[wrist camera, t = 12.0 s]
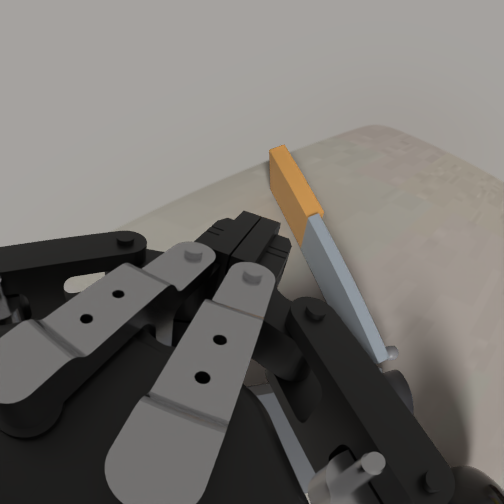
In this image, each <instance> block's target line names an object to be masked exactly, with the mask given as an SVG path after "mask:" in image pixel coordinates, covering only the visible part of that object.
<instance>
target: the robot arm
mask: <svg viewBox="0 0 504 504" xmlns="http://www.w3.org/2000/svg"><path fill="white" fill-rule="evenodd" d="M279 229H280V223H279V222H276V221H273V220H270V219H267V218H264V217H261V216H259V215H256V214H253V213H249V212H246V211H243V212H242V213H241V214H240V215H239V216H238V217H237V218H236V219H235V220H232V219H229V218H225V219H222V220H218V221H217V222H216V223H214V224H213V225H212V227H210V228H209V229H208V230H207V231H205V232H204V233H203V234H202V235H201V236H200V237H199V238H198V239H196V240H195V241H194V242H182V243H178V244H176V245H175V246H173V247H172V248H170V249H169V250H167V251H166V252H161V251H155V250H149V249H146V248H147V241H146V239H145V237H144V236H142V235H141V234H139V233H136V232H132V231H116V232H108V233H100V234H91V235H84V236H76V237H68V238H61V239H53V240H46V241H39V242H32V243H25V244H18V245H11V246H5V247H0V504H309V503H308V500H307V498H306V496H305V494H304V492H303V490H302V487H301V485H300V483H299V481H298V479H297V477H296V474H295V472H294V470H293V468H292V465H291V463H290V461H289V459H288V457H287V454H286V452H285V450H284V447H283V445H282V443H281V441H280V438H279V436H278V434H277V431H276V429H275V427H274V424H273V422H272V420H271V417H270V415H269V413H268V411H267V410H266V408H265V407H264V405H263V404H262V402H261V401H260V400H259V399H258V397H257V396H256V395H255V394H254V393H253V392H252V391H251V390H250V389H249V388H247V387H246V386H245V385H244V384H242V383H243V381H244V378H245V375H246V372H247V369H248V366H249V363H250V360H251V358H252V359H254V360H255V361H256V362H258V363H259V364H261V365H262V366H263V367H265V368H266V372H265V373H266V377H267V380H268V382H269V384H270V386H271V388H272V390H273V392H274V394H275V396H276V398H277V400H278V402H279V404H280V406H281V408H282V410H283V412H284V414H285V416H286V418H287V420H288V422H289V424H290V426H291V428H292V430H293V432H294V434H295V436H296V438H297V440H298V441H299V443H300V445H301V447H302V449H303V451H304V453H305V455H306V457H307V459H308V461H309V463H310V464H311V466H312V468H313V470H314V472H315V475H314V476H313V477H312V478H311V480H310V482H309V485H308V497H309V500H310V503H311V504H447V503H448V502H449V501H450V500H451V498H452V496H453V494H454V490H455V479H454V475H453V473H452V470H451V469H450V467H449V466H448V464H447V463H446V461H445V460H444V458H443V457H442V456H441V454H440V453H439V451H438V450H437V448H436V447H435V446H434V444H433V443H432V441H431V440H430V438H429V437H428V436H427V434H426V433H425V431H424V430H423V429H422V427H421V426H420V424H419V423H418V422H417V420H416V419H415V417H414V416H413V415H412V413H411V412H410V411H409V409H408V408H407V406H406V405H405V404H404V402H403V401H402V400H401V398H400V397H399V395H398V394H397V393H396V391H395V390H394V389H393V387H392V386H391V385H390V383H389V382H388V380H387V379H386V378H385V376H384V375H383V374H382V372H381V371H380V370H379V368H378V367H377V366H376V364H375V363H374V362H373V360H372V359H371V358H370V356H369V355H368V354H367V352H366V351H365V350H364V348H363V347H362V346H361V344H360V343H359V342H358V340H357V339H356V338H355V336H354V335H353V334H352V332H351V331H350V330H349V329H348V327H347V326H346V325H345V323H344V322H343V321H342V319H341V318H340V317H339V315H338V314H337V313H336V312H335V310H334V309H333V308H332V307H331V306H330V305H328V304H327V303H325V302H323V301H321V300H319V299H316V298H311V297H301V298H298V299H296V300H294V301H293V302H291V301H290V300H288V299H287V298H285V297H284V296H283V295H282V294H281V293H280V292H279V291H278V289H277V287H278V284H279V282H280V280H281V277H282V274H283V271H284V268H285V265H286V262H287V259H288V256H289V253H290V250H291V247H292V246H291V243H290V240H289V239H288V238H285V237H282V236H279V235H278V232H279ZM99 272H105V276H104V277H102V278H101V279H99V280H98V281H96V282H95V283H94V284H92V285H91V286H89V287H88V288H86V289H85V290H83V291H82V292H78V293H68V292H66V291H65V290H64V283H65V281H66V280H67V279H69V278H70V277H74V276H80V275H87V274H93V273H99Z"/></svg>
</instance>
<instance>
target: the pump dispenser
mask: <svg viewBox="0 0 504 504" xmlns="http://www.w3.org/2000/svg"><path fill="white" fill-rule="evenodd" d="M450 469H451V470H452V473H453V475H454V479H455V490H454V494H453V496H452V498H451V500H450V501H449V502H448V503H447V504H504V490H503V489H502V488H501V487H500V486H499V485H498V484H497V483H496V482H495V481H494V480H492V479H491V478H490V477H489V476H487V475H486V474H485V473H483V472H482V471H480V470H478V469H476V468H474V467H470V466H457V467H453V468H450Z"/></svg>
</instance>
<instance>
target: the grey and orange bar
mask: <svg viewBox="0 0 504 504" xmlns="http://www.w3.org/2000/svg"><path fill="white" fill-rule="evenodd" d="M269 155H270V189H271V191H272V193H273V195H274V197H275V199H276V201H277V203H278V204H279V206H280V208H281V210H282V212H283V214H284V216H285V218H286V220H287V222H288V224H289V226H290V228H291V230H292V232H293V234H294V236H295V238H296V240H297V242H298V244H299V246H300V248H301V251H302V253H303V255H304V257H305V259H306V261H307V263H308V265H309V267H310V269H311V271H312V273H313V275H314V277H315V279H316V281H317V283H318V285H319V288H320V290H321V292H322V294H323V296H324V298H325V300H326V302H327V304H328V305H330V306H331V307H332V308H333V309H334V310H335V312H336V313H337V314H338V315H339V317H340V318H341V319H342V321H343V322H344V323H345V325H346V326H347V327H348V329H349V330H350V331H351V332H352V334H353V335H354V336H355V338H356V339H357V340H358V342H359V343H360V344H361V346H362V347H363V348H364V350H365V351H366V352H367V354H368V355H369V356H370V358H371V359H372V360H373V362H374V363H377V364H379V363H381V362H383V361H385V360H394V359H396V358H397V356H398V353H399V352H398V349H397V348H396V347H395V346H388V347H385V346H384V343H383V341H382V339H381V337H380V334H379V332H378V330H377V328H376V326H375V324H374V321H373V319H372V317H371V315H370V313H369V311H368V309H367V307H366V304H365V302H364V300H363V298H362V296H361V294H360V292H359V290H358V288H357V286H356V284H355V282H354V280H353V278H352V276H351V274H350V272H349V270H348V268H347V266H346V264H345V262H344V260H343V258H342V256H341V254H340V252H339V250H338V248H337V247H336V245H335V243H334V241H333V239H332V237H331V235H330V233H329V232H328V230H327V228H326V226H325V224H324V222H323V220H322V217H323V214H324V211H323V209H322V208H321V206H320V204H319V202H318V200H317V199H316V197H315V195H314V193H313V192H312V190H311V188H310V187H309V185H308V183H307V181H306V180H305V178H304V176H303V175H302V173H301V171H300V170H299V168H298V166H297V164H296V163H295V161H294V160H293V158H292V156H291V155H290V153H289V151H288V150H287V148H286V147H285V145H281V146H279V147H276V148H273V149H270V150H269Z"/></svg>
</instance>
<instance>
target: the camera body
mask: <svg viewBox="0 0 504 504" xmlns="http://www.w3.org/2000/svg"><path fill="white" fill-rule="evenodd" d="M379 370H380V371H381V372H382V368H379ZM382 374H383V375H384V376H385V378H386V379H387V380H388V382H389V383H390V385H391V386H392V387H393V389H394V390H395V391H396V393H397V394H398V395H399V397H400V398H401V400H402V401H403V402H404V404H405V405H406V406H407V408H408V409H409V411H410V412H411V413H412V415H413V399H412V394H411V391H410V388H409V386H408V383H407V381H406V379H405V378H404V376H403V375H402V373H401V372H400V371H398V370H392V371H388V372H385V373H382ZM247 388H249V389H250V390H251V391H252V392H253V393H254V394H255V395H256V396H257V397H258V399H259V400H260V401H261V402H262V404H263V405H264V407H265V408H266V410H267V411H268V413H269V415H270V417H271V420H272V422H273V424H274V427H275V429H276V431H277V434H278V436H279V438H280V441H281V443H282V445H283V447H284V450H285V452H286V454H287V457H288V459H289V461H290V463H291V465H292V468H293V470H294V472H295V474H296V477H297V479H298V481H299V483H300V485H301V487H302V490H303V492H304V493H308V485H309V482H310V480H311V478H312V477H313V476H314V475H315V472H314V470H313V468H312V466H311V464H310V463H309V461H308V459H307V457H306V455H305V453H304V451H303V449H302V447H301V445H300V443H299V441H298V440H297V438H296V436H295V434H294V432H293V430H292V428H291V426H290V424H289V422H288V420H287V418H286V416H285V414H284V412H283V410H282V408H281V406H280V404H279V402H278V400H277V398H276V396H275V394H274V392H273V390H272V388H271V386H270V384H263V385H257V386H250V387H247Z"/></svg>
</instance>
